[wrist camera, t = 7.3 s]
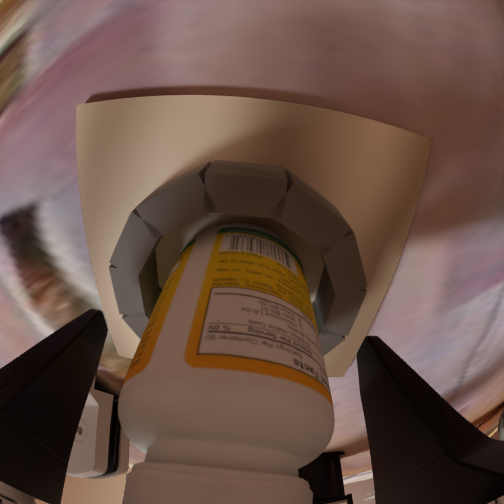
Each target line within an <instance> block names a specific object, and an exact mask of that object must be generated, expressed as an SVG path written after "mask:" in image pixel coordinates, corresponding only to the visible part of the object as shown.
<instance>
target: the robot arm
mask: <svg viewBox="0 0 504 504" xmlns="http://www.w3.org/2000/svg"><path fill="white" fill-rule="evenodd" d="M107 332H108V329H107V325H106V321H105V318H104V315H103V312H102V311H100V310H97V309H90V310H88V311H86V312H85V313H83V314H82V315H80V316H79V317H77V318H75V319H74V320H72V321H71V322H69V323H68V324H66V325H65V326H63V327H62V328H60V329H58V330H57V331H55V332H54V333H52V334H51V335H49V336H48V337H46V338H45V339H43V340H42V341H40V342H39V343H37V344H36V345H35V346H33V347H32V348H30V349H29V350H27V351H26V352H24V353H23V354H21V355H20V356H19V357H17V358H16V359H14V360H13V361H11V362H10V363H8V364H7V365H5V366H4V367H2V368H1V369H0V504H36V502H35V500H36V498H37V499H39V500H42V501H44V502H47V503H49V504H61V497H62V492H63V487H64V482H65V477H66V473H67V468H68V463H69V459H70V455H71V451H72V447H73V443H74V440H75V436H76V433H77V429H78V426H79V422H80V419H81V416H82V413H83V410H84V407H85V403H86V400H87V398H88V395H89V392H90V389H91V386H92V383H93V380H94V378H95V375H96V372H97V369H98V366H99V362H100V358H101V354H102V351H103V347H104V343H105V340H106V336H107ZM357 365H358V375H359V386H360V395H361V401H362V407H363V412H364V418H365V423H366V429H367V435H368V442H369V448H370V455H371V463H372V471H373V479H374V489H375V500H376V504H504V440H495V439H492V438H490V437H488V436H486V435H485V434H484V433H482V432H481V431H480V430H479V429H477V428H476V427H475V426H474V425H473V424H471V423H470V422H469V421H468V420H466V419H465V418H464V417H463V416H462V415H460V414H459V413H458V412H457V411H456V410H455V409H454V408H453V407H452V406H451V405H449V404H448V403H447V402H446V401H445V400H444V399H443V398H441V396H440V395H439V394H438V393H437V392H436V391H435V390H434V389H433V388H432V387H431V386H430V385H429V384H428V383H427V382H426V381H425V380H424V379H423V378H421V377H420V376H419V375H418V374H417V373H416V372H415V371H414V370H413V369H412V368H411V367H410V366H409V365H408V364H407V363H406V362H405V361H404V360H403V359H401V358H400V357H399V356H398V355H397V354H396V353H395V352H394V351H393V350H392V349H391V348H390V347H389V346H388V345H387V344H385V343H384V342H383V341H382V340H381V339H380V338H379V337H378V336H366V337H365V338H364V340H363V342H362V344H361V346H360V348H359V350H358V352H357ZM344 456H345V453H344V452H340V453H332V454H322V455H319V456H318V457H317V458H316V459H314V460H313V461H312V462H310V463H309V464H307V465H305V466H303V467H301V468H299V469H298V475H299V478H302V479H304V480H306V481H307V482H308V483H309V487H310V490H311V491H312V492H313V500H312V502H313V504H340V503H344V502H347V504H353V500H352V494H347V495H346V496H345V493H344V484H343V477H342V470H341V463H340V459H341V458H342V457H344Z"/></svg>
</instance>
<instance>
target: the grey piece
mask: <svg viewBox="0 0 504 504" xmlns="http://www.w3.org/2000/svg"><path fill="white" fill-rule="evenodd" d="M94 387H95V378H94V380H93V383H92V386H91V389H90V392H89V395H88V398H87V400H86V403H85V407H84V410H83V413H82V416H81V419H80V422H79V426H78V429H77V433H76V436H75V440H74V443H73V447H72V451H71V455H70V459H69V463H68V468H67V473H66V474H67V475H70V476H75V477H83V478H89V479H101V478H108V477H113V476H118V475H121V474H124V473H126V472H127V470H128V467H129V446H130V439H129V438H128V437H127V435H126V434H125V432H124V430H123V428H122V426H121V423H120V420H119V416H118V401H119V399H113V396H114V395H111V394H108V393H105V392H101V391H98V390H95V389H94Z"/></svg>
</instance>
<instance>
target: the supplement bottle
mask: <svg viewBox="0 0 504 504" xmlns="http://www.w3.org/2000/svg"><path fill="white" fill-rule="evenodd" d="M118 416H119V420H120V423H121V426H122V428H123V430H124V432H125V434H126V435H127V437H128V438H129V439H130V441H131V442H132V443H133V444H134V445H135V446H136V447H137V448H138V449H139V450H140V451H142V452H143V453H145V454H146V457H145V461H144V462H141V463H137V464H135V465H134V466H133V467H132V471H131V472H130V473H128V474H127V475H126V485H125V491H124V497H123V503H122V504H313V502H312V500H313V492H312V491H311V490H310V487H309V483H308V482H307V481H306V480H304V479H302V478H299V475H298V469H299V468H301V467H303V466H305V465H307V464H309V463H310V462H312V461H313V460H314V459H316V458H317V457H318V456H319V455H320V454H321V453H322V452H323V451H324V450H325V448H326V447H327V445H328V444H329V442H330V440H331V437H332V435H333V431H334V410H333V403H332V397H331V392H330V387H329V382H328V377H327V372H326V367H325V362H324V357H323V352H322V348H321V343H320V338H319V333H318V328H317V324H316V320H315V315H314V311H313V307H312V303H311V298H310V294H309V290H308V286H307V281H306V277H305V274H304V270H303V266H302V263H301V261H300V259H299V257H298V255H297V253H296V252H295V250H294V249H293V248H292V247H291V245H290V244H289V243H288V242H287V241H286V240H284V239H283V238H282V237H281V236H279V235H278V234H276V233H275V232H273V231H271V230H269V229H267V228H264V227H262V226H259V225H255V224H250V223H242V222H233V223H224V224H219V225H215V226H212V227H210V228H207V229H205V230H203V231H201V232H200V233H198V234H197V235H195V236H194V237H193V238H191V239H190V240H189V241H188V242H187V244H186V245H185V246H184V248H183V249H182V250H181V252H180V254H179V256H178V258H177V260H176V262H175V264H174V266H173V268H172V270H171V272H170V274H169V277H168V279H167V281H166V283H165V285H164V287H163V290H162V292H161V294H160V296H159V299H158V301H157V303H156V305H155V308H154V310H153V312H152V314H151V317H150V319H149V321H148V324H147V326H146V328H145V331H144V333H143V335H142V337H141V340H140V342H139V345H138V347H137V349H136V352H135V355H134V357H133V359H132V362H131V364H130V367H129V369H128V372H127V374H126V378H125V381H124V384H123V386H122V389H121V392H120V396H119V401H118Z"/></svg>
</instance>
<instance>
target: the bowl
mask: <svg viewBox="0 0 504 504" xmlns="http://www.w3.org/2000/svg"><path fill="white" fill-rule="evenodd" d="M498 433H499V438H500V440H504V410H503V412H502V414H501V416H500V419H499V424H498Z"/></svg>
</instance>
